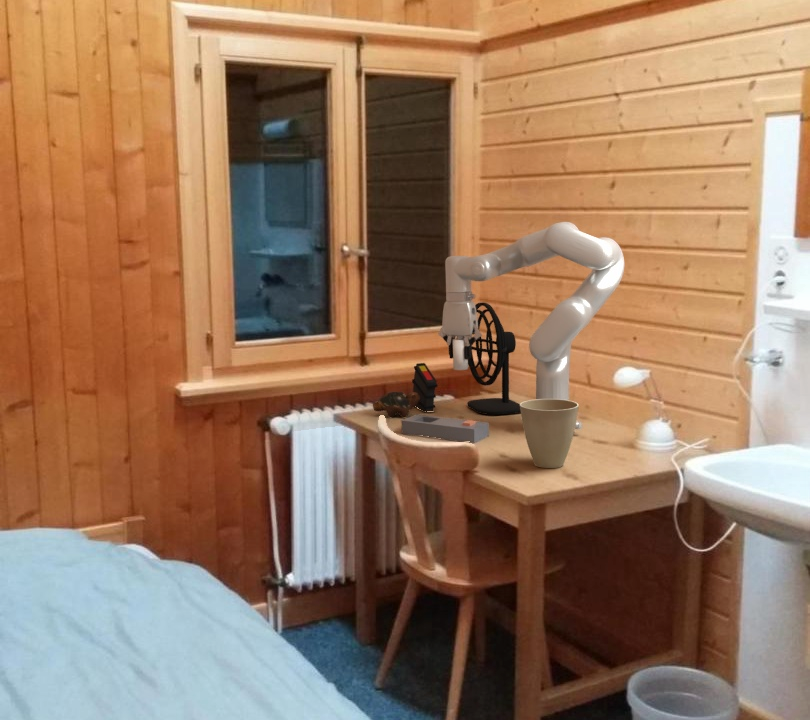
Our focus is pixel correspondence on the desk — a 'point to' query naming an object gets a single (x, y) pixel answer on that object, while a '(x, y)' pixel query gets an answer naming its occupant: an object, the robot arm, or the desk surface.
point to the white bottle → (459, 354)
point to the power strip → (445, 428)
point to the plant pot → (549, 429)
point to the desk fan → (504, 347)
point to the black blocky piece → (424, 387)
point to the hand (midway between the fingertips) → (460, 357)
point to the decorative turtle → (397, 403)
